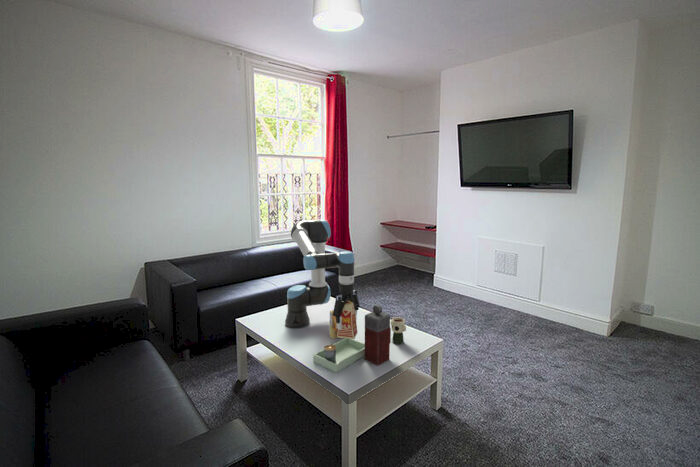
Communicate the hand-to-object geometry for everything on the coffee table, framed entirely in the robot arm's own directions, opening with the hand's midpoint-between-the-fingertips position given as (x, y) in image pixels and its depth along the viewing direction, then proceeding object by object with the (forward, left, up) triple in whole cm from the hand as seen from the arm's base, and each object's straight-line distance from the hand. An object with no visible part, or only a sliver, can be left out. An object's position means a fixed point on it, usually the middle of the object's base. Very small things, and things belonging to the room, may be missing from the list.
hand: (346, 325), depth 173 cm
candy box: (-18, +13, -16) cm, 27 cm away
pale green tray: (0, -3, -16) cm, 16 cm away
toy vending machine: (+14, +8, -16) cm, 23 cm away
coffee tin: (0, -12, -15) cm, 19 cm away
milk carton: (0, 0, -5) cm, 5 cm away
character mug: (+12, +29, -16) cm, 35 cm away
